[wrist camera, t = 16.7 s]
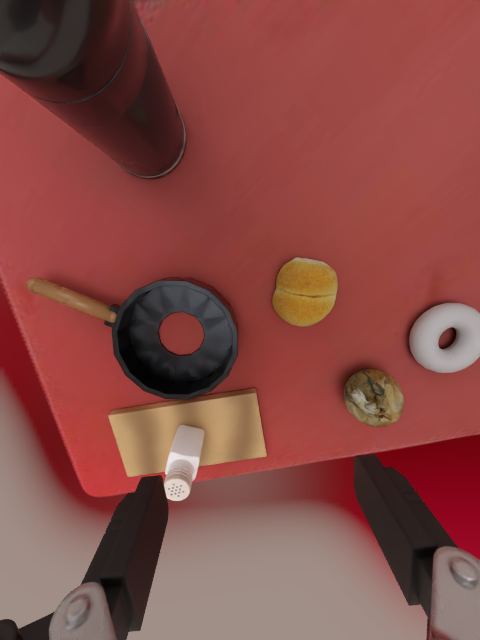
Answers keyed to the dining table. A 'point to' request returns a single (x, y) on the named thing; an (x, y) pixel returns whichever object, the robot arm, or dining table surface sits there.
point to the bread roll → (305, 291)
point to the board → (200, 412)
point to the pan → (144, 341)
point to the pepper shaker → (183, 462)
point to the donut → (471, 335)
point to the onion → (374, 398)
